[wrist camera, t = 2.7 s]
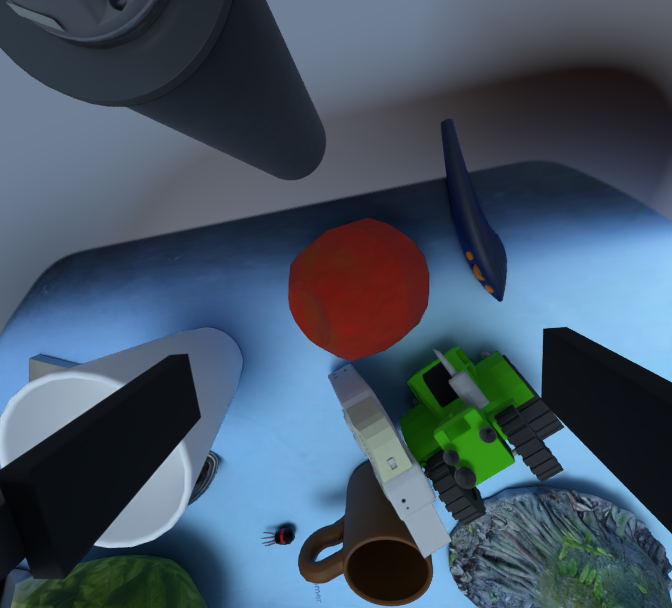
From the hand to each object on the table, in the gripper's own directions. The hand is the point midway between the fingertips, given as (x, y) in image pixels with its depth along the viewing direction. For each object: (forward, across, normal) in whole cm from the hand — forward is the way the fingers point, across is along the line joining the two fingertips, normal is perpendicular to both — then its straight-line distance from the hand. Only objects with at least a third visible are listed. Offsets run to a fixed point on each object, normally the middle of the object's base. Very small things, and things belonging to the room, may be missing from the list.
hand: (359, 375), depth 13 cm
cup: (+20, -16, -6) cm, 27 cm away
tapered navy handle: (+20, +11, +6) cm, 24 cm away
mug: (+20, -2, -23) cm, 31 cm away
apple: (+11, -4, 0) cm, 12 cm away
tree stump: (+20, +17, -31) cm, 41 cm away
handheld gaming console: (+5, +2, -11) cm, 12 cm away
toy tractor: (+11, +10, -14) cm, 20 cm away
